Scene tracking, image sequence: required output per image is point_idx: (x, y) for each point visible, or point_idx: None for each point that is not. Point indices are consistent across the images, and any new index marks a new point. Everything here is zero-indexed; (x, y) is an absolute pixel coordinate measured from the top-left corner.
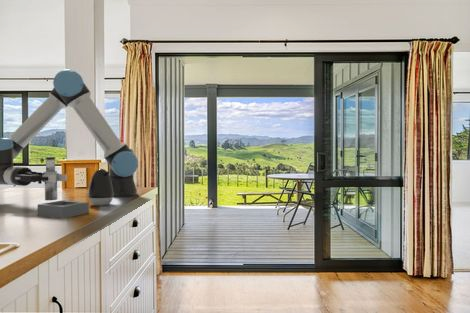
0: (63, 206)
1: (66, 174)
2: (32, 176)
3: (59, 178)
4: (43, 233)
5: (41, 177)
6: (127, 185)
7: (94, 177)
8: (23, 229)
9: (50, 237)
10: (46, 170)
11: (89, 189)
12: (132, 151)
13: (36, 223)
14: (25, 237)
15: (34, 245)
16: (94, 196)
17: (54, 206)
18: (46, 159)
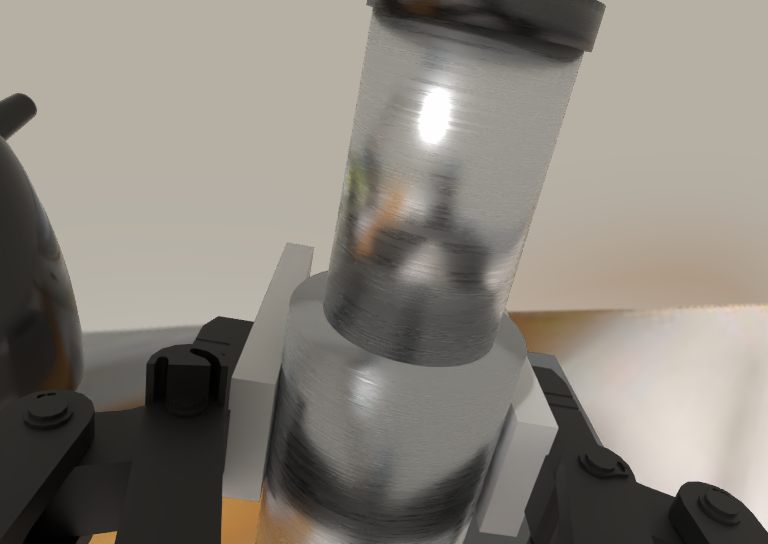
0: (541, 357)
1: (294, 245)
2: (755, 540)
3: None
4: (702, 351)
5: (586, 437)
6: None
7: (14, 198)
8: (762, 423)
9: (695, 323)
10: (500, 317)
11: (15, 354)
12: None
13: (685, 446)
14: (765, 364)
15: (750, 320)
16: (80, 368)
17: (574, 394)
18: (578, 64)
